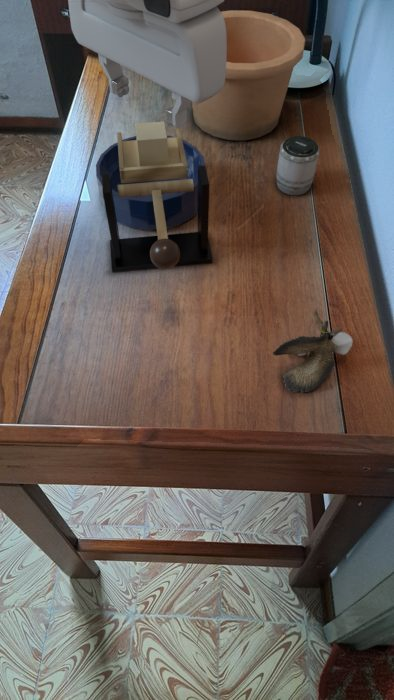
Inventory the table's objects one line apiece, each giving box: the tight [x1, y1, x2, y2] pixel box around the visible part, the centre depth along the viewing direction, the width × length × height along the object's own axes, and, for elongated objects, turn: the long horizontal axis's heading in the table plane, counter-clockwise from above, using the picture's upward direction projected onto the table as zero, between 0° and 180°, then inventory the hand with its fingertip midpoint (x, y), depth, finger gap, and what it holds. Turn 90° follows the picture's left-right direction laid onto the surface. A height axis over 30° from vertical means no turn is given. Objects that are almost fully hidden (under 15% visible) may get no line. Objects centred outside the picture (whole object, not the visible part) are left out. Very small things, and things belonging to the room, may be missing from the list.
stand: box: [102, 166, 213, 273], centre depth 72 cm, size 15×6×14 cm, turn 98°
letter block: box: [134, 121, 169, 166], centre depth 69 cm, size 4×4×4 cm
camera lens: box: [276, 135, 321, 196], centre depth 84 cm, size 6×6×8 cm
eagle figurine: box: [272, 308, 354, 394], centre depth 64 cm, size 8×7×9 cm
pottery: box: [191, 9, 306, 141], centre depth 93 cm, size 22×22×14 cm
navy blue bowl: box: [95, 135, 207, 231], centre depth 83 cm, size 17×17×6 cm
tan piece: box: [116, 127, 194, 270], centre depth 67 cm, size 10×25×4 cm, turn 8°
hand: (147, 108), depth 59 cm, fingers open, 8 cm apart
